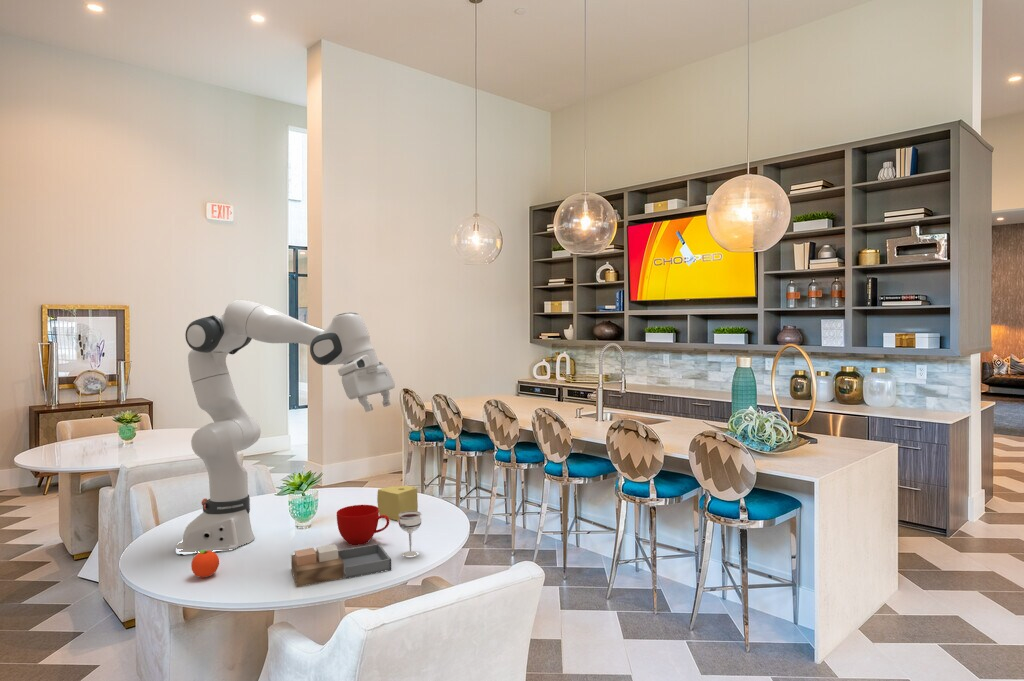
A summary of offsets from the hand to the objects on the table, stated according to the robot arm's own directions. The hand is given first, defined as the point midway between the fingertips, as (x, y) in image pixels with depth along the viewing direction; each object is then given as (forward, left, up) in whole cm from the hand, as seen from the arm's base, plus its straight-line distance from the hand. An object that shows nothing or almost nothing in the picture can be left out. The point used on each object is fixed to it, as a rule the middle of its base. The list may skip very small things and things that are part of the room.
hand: (378, 408), depth 179 cm
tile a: (-16, -4, -40) cm, 43 cm away
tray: (-6, -4, -44) cm, 44 cm away
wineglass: (+8, -2, -44) cm, 45 cm away
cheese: (+15, +37, -44) cm, 60 cm away
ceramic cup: (-2, +15, -44) cm, 47 cm away
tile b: (-22, -4, -40) cm, 45 cm away
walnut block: (-19, -4, -44) cm, 48 cm away
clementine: (-47, +9, -44) cm, 65 cm away
